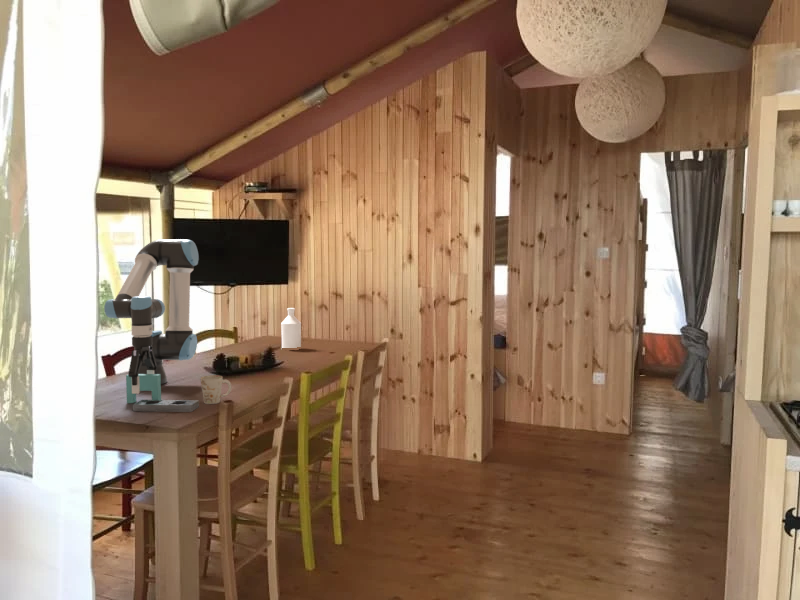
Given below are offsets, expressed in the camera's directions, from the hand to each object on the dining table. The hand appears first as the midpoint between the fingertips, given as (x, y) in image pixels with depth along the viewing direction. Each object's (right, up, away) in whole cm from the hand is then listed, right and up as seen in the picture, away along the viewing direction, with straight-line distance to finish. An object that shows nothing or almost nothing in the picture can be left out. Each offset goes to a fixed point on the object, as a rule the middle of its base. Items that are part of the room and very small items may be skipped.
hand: (143, 389), depth 255 cm
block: (+13, -6, -10) cm, 17 cm away
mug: (+28, -5, +2) cm, 29 cm away
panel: (0, -5, 0) cm, 5 cm away
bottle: (+35, +5, +138) cm, 142 cm away
